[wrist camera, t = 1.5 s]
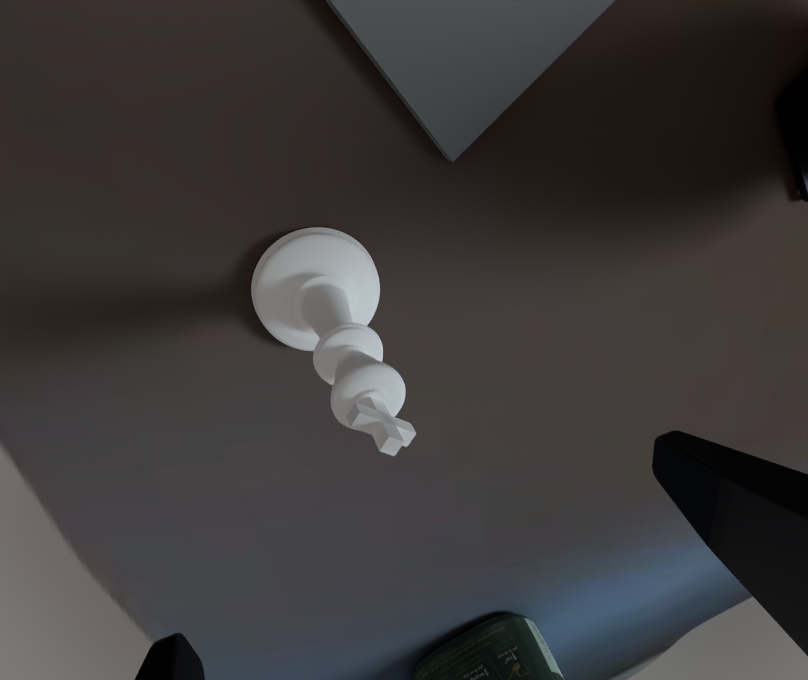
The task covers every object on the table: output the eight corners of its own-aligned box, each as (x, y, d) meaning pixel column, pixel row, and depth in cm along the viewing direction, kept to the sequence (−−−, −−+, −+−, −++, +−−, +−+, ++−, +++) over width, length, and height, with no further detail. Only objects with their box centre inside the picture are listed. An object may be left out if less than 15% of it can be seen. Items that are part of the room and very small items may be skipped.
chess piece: (291, 201, 19) (358, 314, 10) (400, 264, 21) (527, 396, 13) (227, 315, 20) (241, 502, 11) (338, 362, 22) (416, 544, 14)
